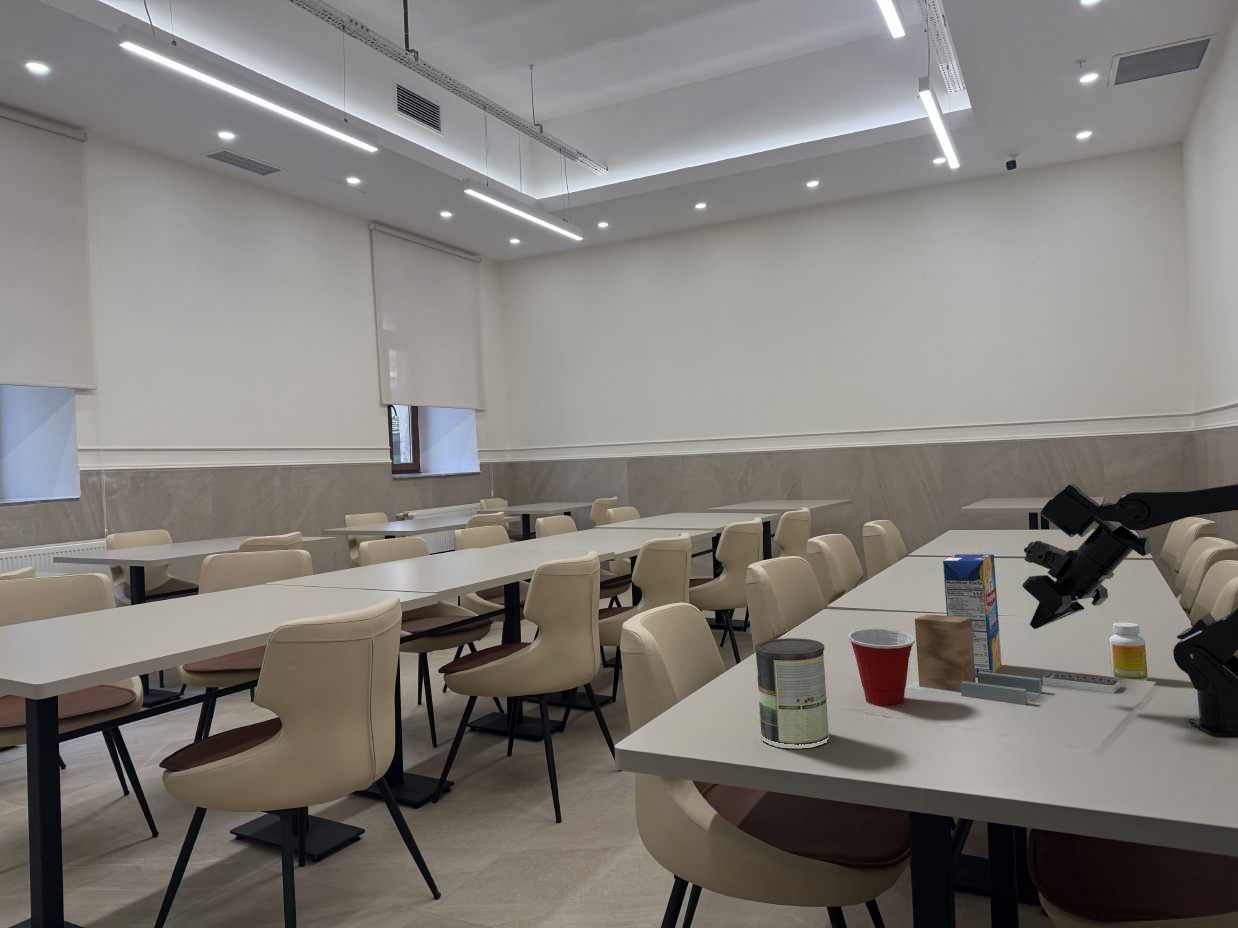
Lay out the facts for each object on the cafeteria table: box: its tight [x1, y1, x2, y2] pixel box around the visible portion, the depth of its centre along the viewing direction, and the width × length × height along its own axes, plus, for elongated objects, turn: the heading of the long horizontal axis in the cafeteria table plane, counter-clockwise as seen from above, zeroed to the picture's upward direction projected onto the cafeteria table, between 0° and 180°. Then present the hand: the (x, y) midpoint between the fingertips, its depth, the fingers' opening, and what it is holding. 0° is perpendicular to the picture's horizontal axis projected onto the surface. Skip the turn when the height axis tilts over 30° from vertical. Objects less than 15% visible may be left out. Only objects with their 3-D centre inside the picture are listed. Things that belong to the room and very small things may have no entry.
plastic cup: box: [847, 628, 916, 707], centre depth 134 cm, size 11×11×12 cm
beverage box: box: [942, 553, 1003, 678], centre depth 150 cm, size 7×11×22 cm, turn 145°
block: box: [914, 613, 977, 692], centre depth 140 cm, size 8×5×12 cm, turn 46°
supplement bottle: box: [1108, 621, 1149, 682], centre depth 141 cm, size 5×5×10 cm
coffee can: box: [754, 637, 830, 745], centre depth 120 cm, size 10×10×14 cm
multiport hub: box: [1041, 672, 1121, 694], centre depth 136 cm, size 4×11×2 cm, turn 46°
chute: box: [905, 671, 1043, 706], centre depth 137 cm, size 20×9×3 cm, turn 46°
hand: (1032, 626), depth 131 cm, fingers closed
